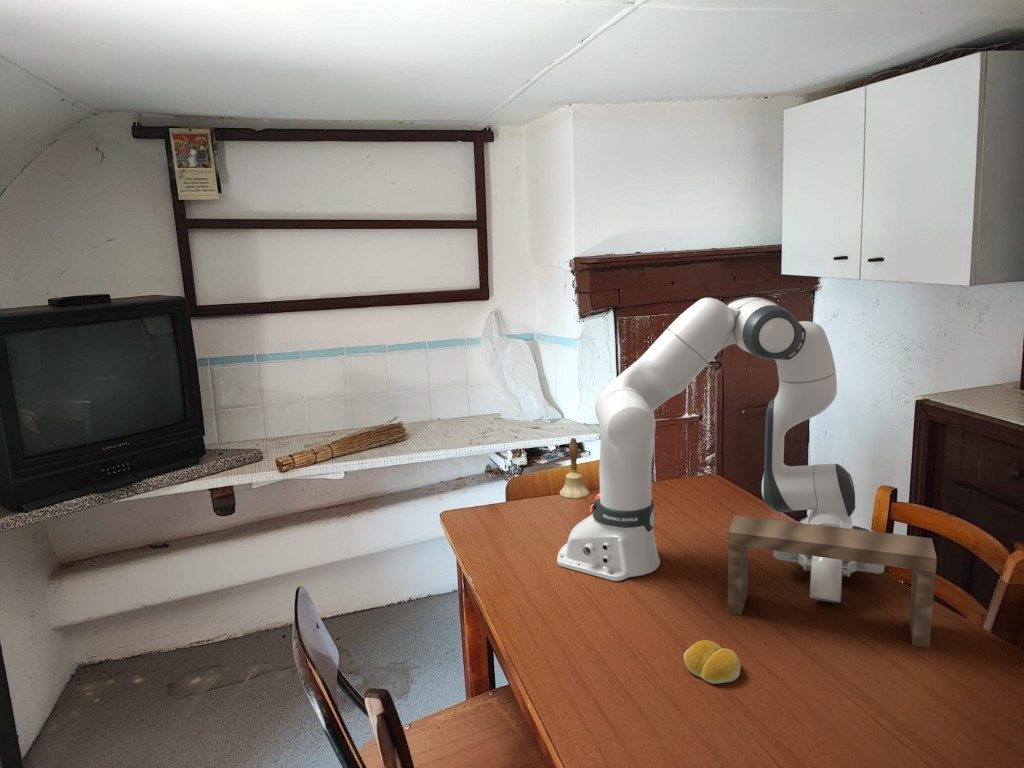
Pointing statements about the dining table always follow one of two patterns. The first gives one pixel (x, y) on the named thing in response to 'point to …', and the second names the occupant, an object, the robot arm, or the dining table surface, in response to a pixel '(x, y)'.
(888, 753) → the dining table surface
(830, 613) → the dining table surface
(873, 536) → the arch
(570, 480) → the hand bell
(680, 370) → the robot arm
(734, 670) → the bread roll
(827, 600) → the white cylinder
